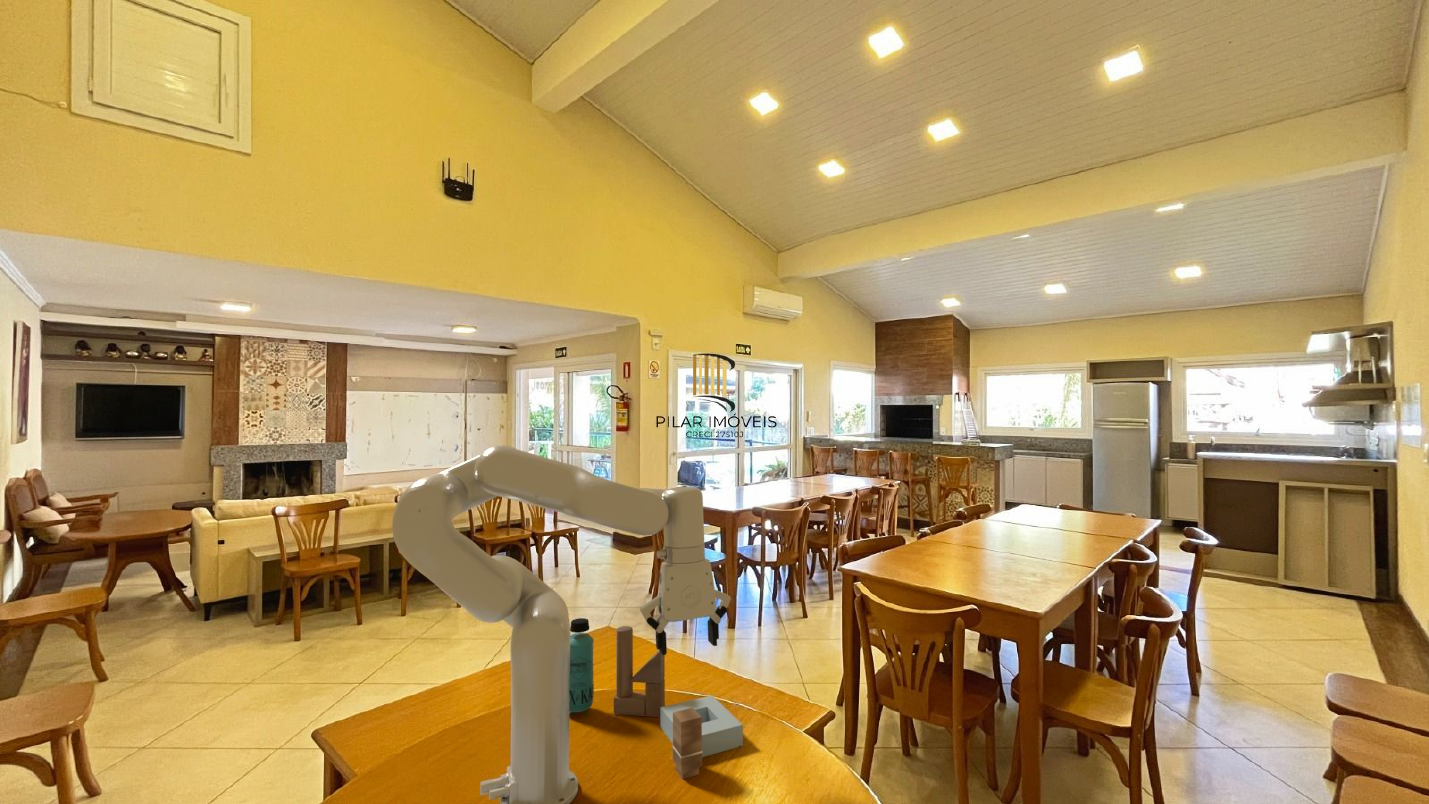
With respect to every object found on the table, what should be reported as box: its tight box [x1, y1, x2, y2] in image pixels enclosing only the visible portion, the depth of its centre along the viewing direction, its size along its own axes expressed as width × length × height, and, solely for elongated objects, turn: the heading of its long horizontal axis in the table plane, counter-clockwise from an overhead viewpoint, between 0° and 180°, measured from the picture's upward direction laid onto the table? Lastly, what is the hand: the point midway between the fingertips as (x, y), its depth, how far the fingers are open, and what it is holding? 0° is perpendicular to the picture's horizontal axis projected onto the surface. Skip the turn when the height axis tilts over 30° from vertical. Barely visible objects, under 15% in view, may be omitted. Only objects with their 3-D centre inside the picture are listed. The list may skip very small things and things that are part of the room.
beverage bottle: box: [569, 617, 595, 713], centre depth 123 cm, size 6×7×20 cm
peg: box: [671, 708, 703, 780], centre depth 101 cm, size 4×4×10 cm
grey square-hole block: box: [659, 695, 744, 758], centre depth 113 cm, size 12×14×4 cm
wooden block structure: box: [613, 625, 666, 719], centre depth 123 cm, size 4×11×18 cm, turn 81°
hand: (688, 648), depth 103 cm, fingers open, 9 cm apart
